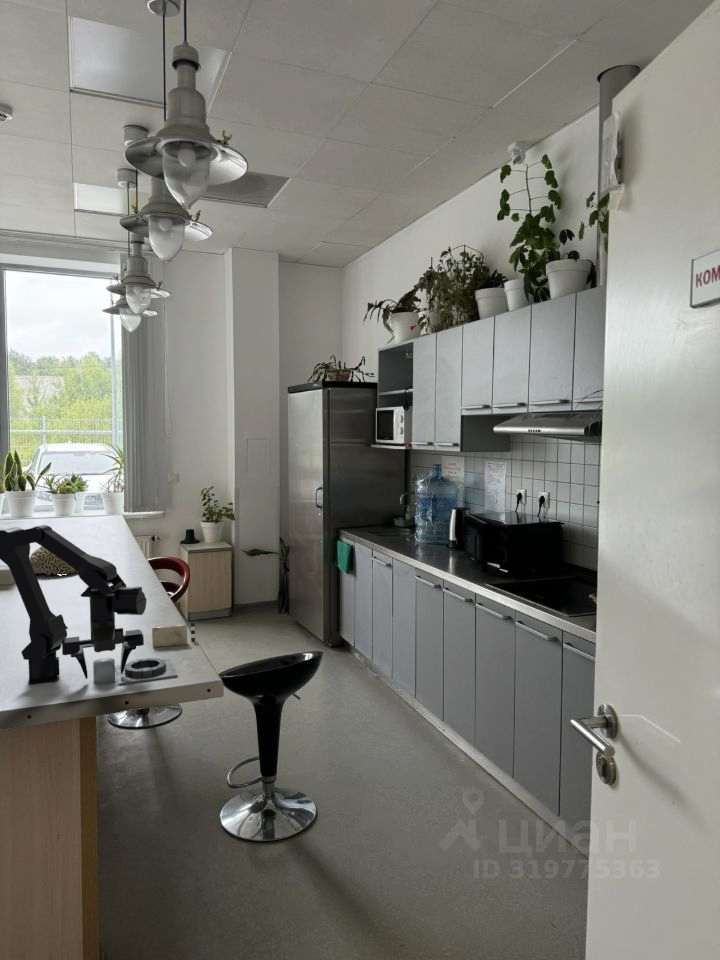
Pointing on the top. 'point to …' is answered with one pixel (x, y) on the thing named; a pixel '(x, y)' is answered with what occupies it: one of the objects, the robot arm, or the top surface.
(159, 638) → the cuneiform tablet
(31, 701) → the top surface
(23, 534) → the robot arm
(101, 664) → the cap
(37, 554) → the coral
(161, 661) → the notched ring on plate
